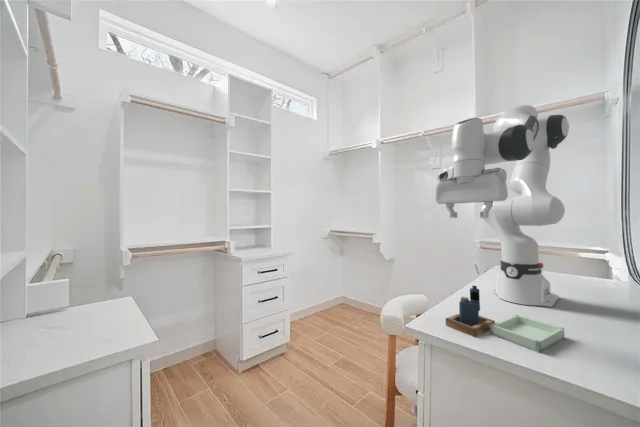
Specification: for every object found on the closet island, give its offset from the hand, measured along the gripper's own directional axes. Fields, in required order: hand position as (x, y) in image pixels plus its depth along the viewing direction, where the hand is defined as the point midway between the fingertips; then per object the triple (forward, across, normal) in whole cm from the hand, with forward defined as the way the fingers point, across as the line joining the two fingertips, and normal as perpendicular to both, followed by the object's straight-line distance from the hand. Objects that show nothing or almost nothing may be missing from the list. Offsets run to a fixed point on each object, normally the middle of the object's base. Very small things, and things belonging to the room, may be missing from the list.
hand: (468, 217), depth 77 cm
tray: (+32, -12, -5) cm, 34 cm away
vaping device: (+32, -2, +2) cm, 32 cm away
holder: (+32, -2, +2) cm, 32 cm away
